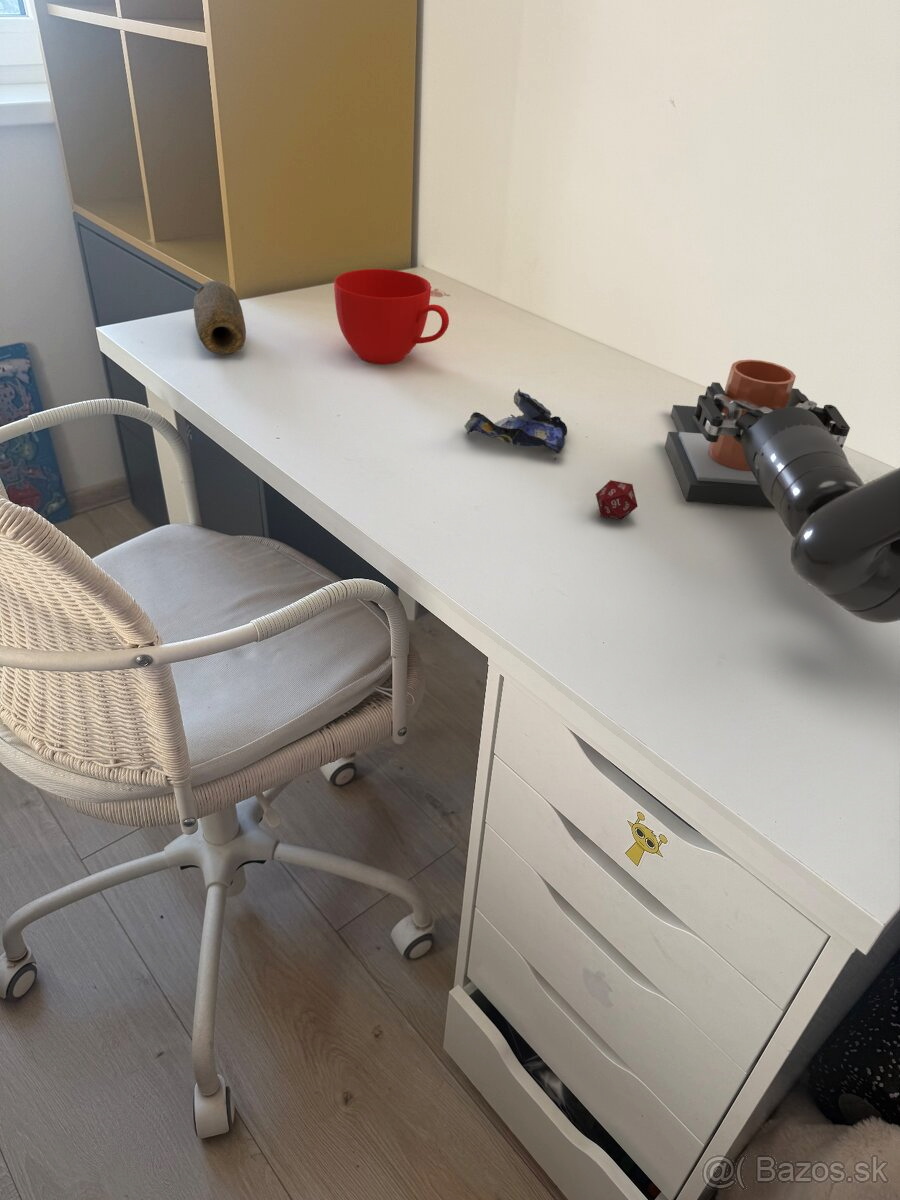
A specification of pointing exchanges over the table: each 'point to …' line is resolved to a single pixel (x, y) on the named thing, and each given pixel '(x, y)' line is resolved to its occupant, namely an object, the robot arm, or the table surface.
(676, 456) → the scale
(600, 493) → the dice
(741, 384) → the cup
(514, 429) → the snack package
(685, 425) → the pad
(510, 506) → the table surface
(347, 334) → the ceramic cup
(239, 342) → the stone weight
